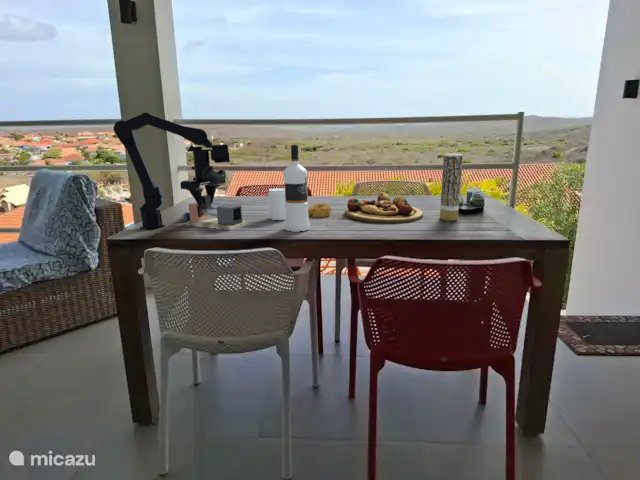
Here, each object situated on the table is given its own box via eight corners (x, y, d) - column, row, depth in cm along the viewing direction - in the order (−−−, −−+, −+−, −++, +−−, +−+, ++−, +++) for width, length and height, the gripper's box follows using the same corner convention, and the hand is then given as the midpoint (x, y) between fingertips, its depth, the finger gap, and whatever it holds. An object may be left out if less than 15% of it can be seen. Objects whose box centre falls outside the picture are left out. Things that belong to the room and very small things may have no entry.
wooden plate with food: (338, 222, 158) (338, 201, 156) (351, 205, 188) (352, 188, 186) (422, 228, 151) (424, 206, 149) (422, 209, 181) (424, 191, 179)
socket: (207, 218, 162) (206, 201, 160) (197, 221, 157) (195, 204, 155) (201, 217, 164) (199, 201, 162) (190, 221, 158) (188, 203, 157)
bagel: (304, 213, 175) (304, 202, 173) (330, 212, 176) (330, 201, 174) (305, 218, 165) (305, 207, 164) (332, 218, 166) (332, 206, 165)
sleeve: (242, 222, 155) (241, 205, 153) (233, 225, 150) (231, 208, 148) (227, 220, 158) (226, 204, 156) (218, 224, 153) (216, 206, 151)
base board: (247, 224, 157) (246, 221, 156) (230, 230, 148) (230, 227, 148) (204, 219, 166) (204, 216, 165) (186, 225, 157) (186, 222, 157)
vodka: (289, 225, 154) (286, 144, 145) (313, 227, 151) (311, 143, 143) (280, 232, 145) (277, 145, 137) (305, 233, 143) (303, 145, 134)
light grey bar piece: (180, 212, 163) (200, 193, 185) (183, 227, 165) (202, 207, 188) (193, 212, 162) (211, 193, 185) (195, 227, 165) (213, 207, 188)
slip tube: (230, 216, 155) (229, 196, 153) (224, 218, 152) (222, 198, 150) (199, 213, 162) (197, 194, 160) (193, 215, 159) (191, 195, 156)
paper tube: (458, 221, 156) (464, 154, 149) (440, 221, 157) (444, 154, 150) (456, 217, 162) (461, 153, 155) (438, 217, 163) (443, 153, 157)
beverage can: (265, 220, 163) (263, 190, 160) (276, 216, 170) (275, 187, 167) (282, 222, 160) (281, 191, 156) (293, 217, 167) (292, 188, 163)
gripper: (201, 166, 141) (205, 211, 145) (234, 161, 157) (237, 201, 161) (177, 165, 146) (181, 208, 150) (212, 161, 162) (215, 200, 166)
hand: (205, 204), depth 157 cm, fingers open, 6 cm apart
